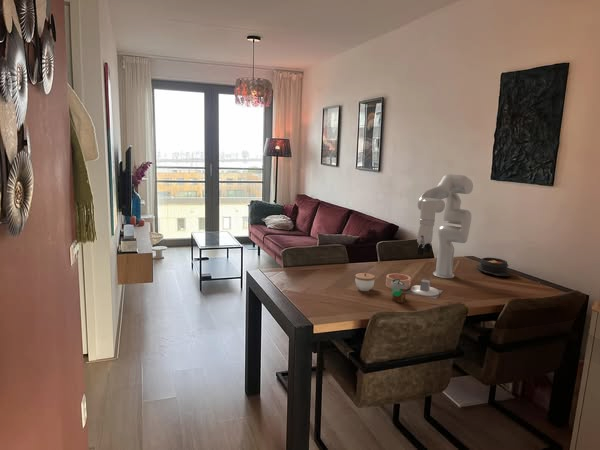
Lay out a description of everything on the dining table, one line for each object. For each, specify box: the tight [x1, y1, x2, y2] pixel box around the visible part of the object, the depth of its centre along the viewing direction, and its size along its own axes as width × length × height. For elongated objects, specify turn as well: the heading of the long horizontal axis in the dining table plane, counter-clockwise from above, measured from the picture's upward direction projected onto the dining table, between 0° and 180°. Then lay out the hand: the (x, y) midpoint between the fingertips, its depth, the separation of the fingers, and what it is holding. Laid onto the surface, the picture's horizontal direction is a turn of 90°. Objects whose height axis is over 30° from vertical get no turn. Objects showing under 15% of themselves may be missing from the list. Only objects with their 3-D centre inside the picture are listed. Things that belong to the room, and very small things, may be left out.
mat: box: [406, 284, 444, 300], centre depth 236 cm, size 16×16×1 cm
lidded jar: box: [354, 272, 376, 292], centre depth 237 cm, size 11×11×9 cm
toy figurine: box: [391, 278, 408, 304], centre depth 222 cm, size 12×6×10 cm, turn 5°
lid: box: [409, 279, 440, 297], centre depth 236 cm, size 15×15×6 cm
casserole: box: [475, 257, 512, 277], centre depth 280 cm, size 25×19×8 cm
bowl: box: [385, 273, 412, 291], centre depth 243 cm, size 13×13×6 cm
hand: (423, 253), depth 235 cm, fingers open, 9 cm apart
